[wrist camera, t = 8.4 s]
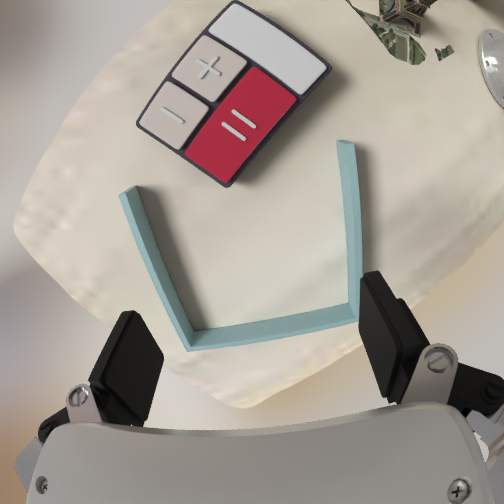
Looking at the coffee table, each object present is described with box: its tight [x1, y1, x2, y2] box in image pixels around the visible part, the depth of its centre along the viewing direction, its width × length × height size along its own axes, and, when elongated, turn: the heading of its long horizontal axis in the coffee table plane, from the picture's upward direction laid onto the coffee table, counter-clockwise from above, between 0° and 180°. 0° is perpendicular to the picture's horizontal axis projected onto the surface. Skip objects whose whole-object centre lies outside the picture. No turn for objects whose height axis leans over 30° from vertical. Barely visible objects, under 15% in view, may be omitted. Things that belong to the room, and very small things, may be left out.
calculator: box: [136, 0, 332, 188], centre depth 22 cm, size 11×4×15 cm
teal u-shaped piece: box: [119, 140, 362, 352], centre depth 30 cm, size 23×21×3 cm
